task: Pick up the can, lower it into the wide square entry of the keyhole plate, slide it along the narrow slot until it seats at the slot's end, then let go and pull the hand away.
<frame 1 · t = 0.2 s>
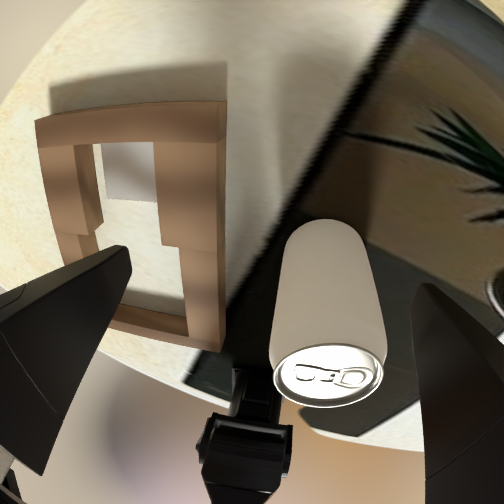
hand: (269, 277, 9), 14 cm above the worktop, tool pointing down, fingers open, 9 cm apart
keyhole plate: (137, 230, 26), on the worktop
can: (324, 252, 24), on the worktop
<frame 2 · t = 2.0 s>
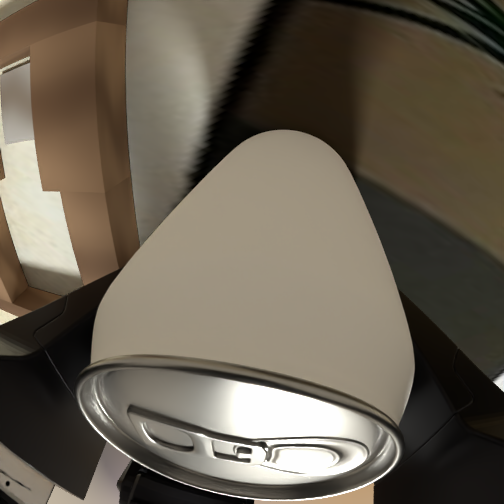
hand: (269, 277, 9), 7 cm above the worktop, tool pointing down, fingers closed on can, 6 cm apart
keyhole plate: (34, 183, 16), on the worktop
can: (285, 194, 15), on the worktop, touching gripper
when the fingers open (7 cm above the worktop, at t = 9.1 s): can stays where it is, resting on keyhole plate.
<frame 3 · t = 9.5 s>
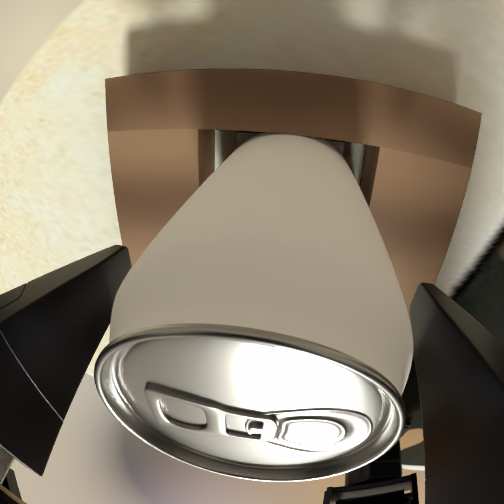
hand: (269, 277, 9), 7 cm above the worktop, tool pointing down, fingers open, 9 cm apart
keyhole plate: (277, 277, 18), on the worktop
can: (288, 190, 15), resting on keyhole plate
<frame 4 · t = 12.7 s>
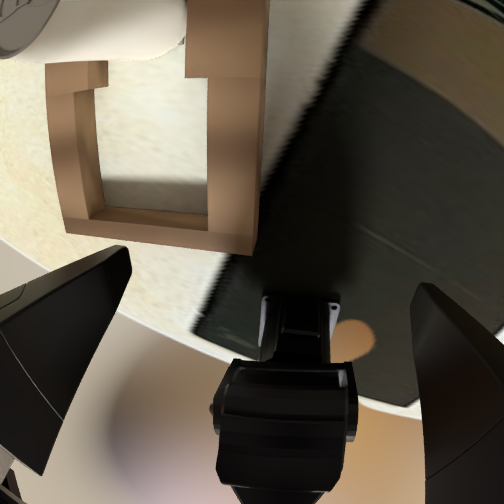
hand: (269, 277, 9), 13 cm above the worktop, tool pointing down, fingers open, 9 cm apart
keyhole plate: (149, 87, 18), on the worktop
can: (152, 19, 16), resting on keyhole plate
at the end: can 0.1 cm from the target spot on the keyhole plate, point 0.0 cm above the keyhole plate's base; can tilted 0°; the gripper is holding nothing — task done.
